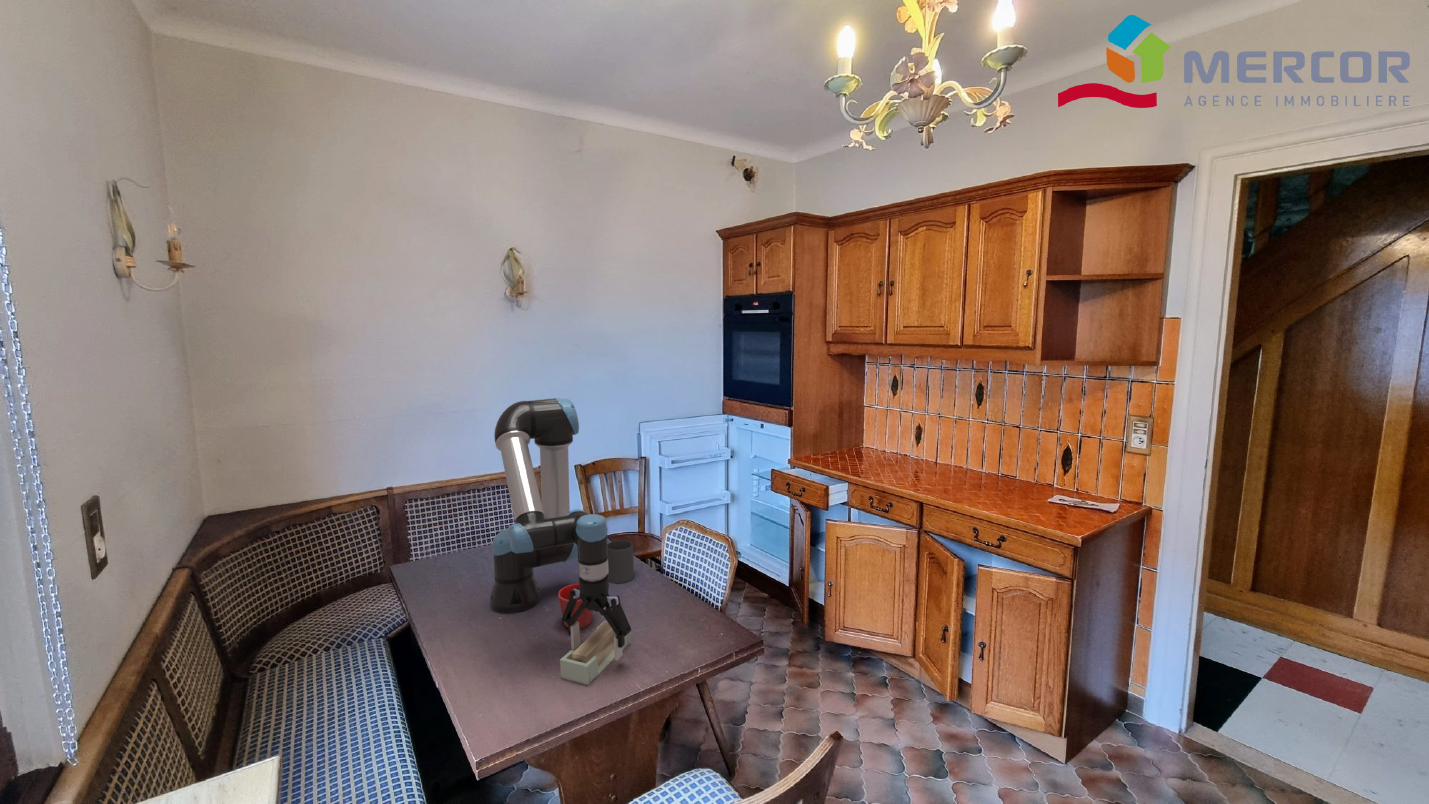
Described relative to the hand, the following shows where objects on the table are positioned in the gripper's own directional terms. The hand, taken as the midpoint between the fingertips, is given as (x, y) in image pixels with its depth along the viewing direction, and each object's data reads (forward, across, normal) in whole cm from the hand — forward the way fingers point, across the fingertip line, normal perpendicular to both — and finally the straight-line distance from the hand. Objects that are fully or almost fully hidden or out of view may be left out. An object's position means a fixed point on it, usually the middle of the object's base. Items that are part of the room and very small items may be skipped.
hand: (596, 652), depth 151 cm
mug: (+2, -22, +45) cm, 50 cm away
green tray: (+2, 0, 0) cm, 2 cm away
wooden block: (+2, 0, 0) cm, 2 cm away
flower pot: (+2, -16, +14) cm, 21 cm away
